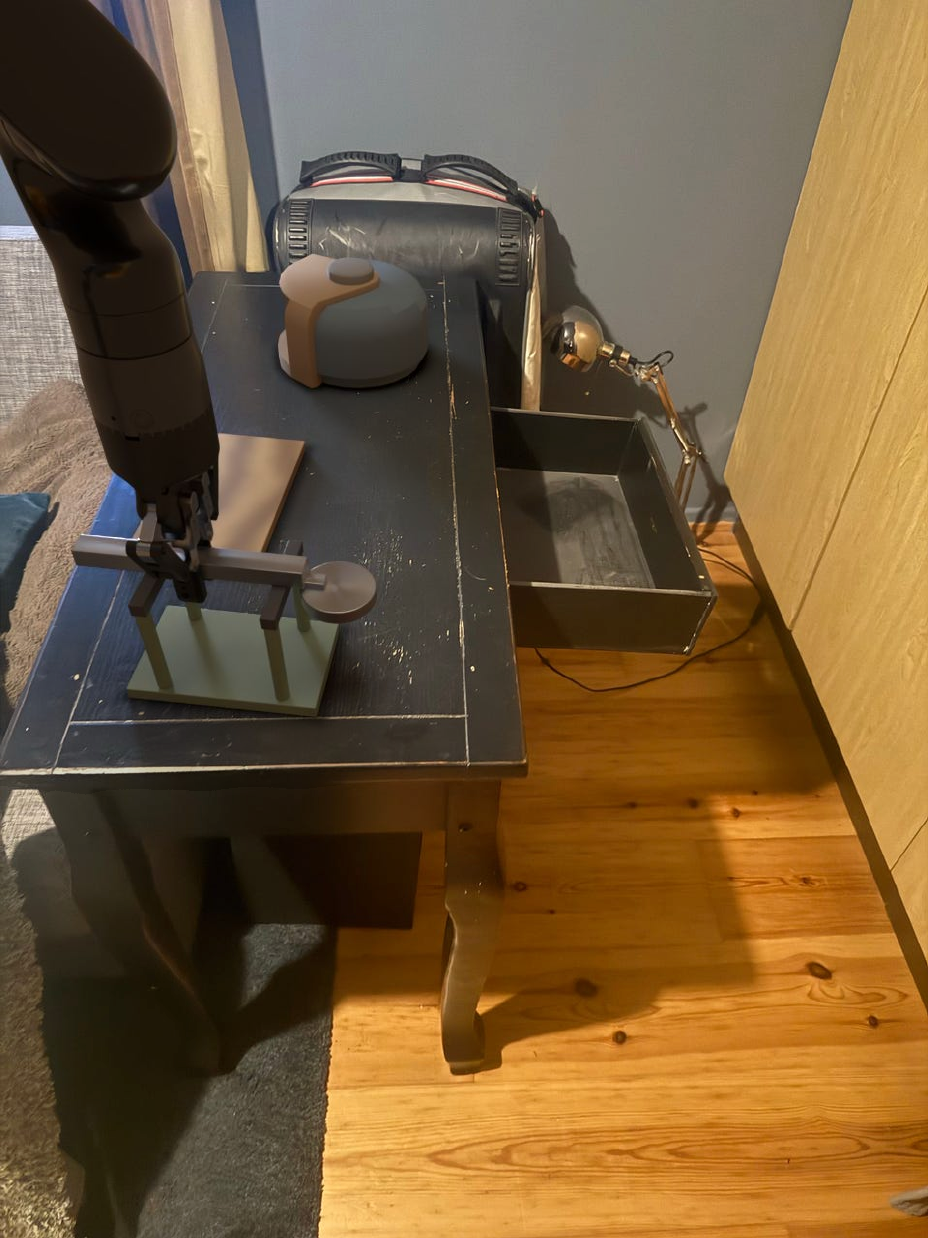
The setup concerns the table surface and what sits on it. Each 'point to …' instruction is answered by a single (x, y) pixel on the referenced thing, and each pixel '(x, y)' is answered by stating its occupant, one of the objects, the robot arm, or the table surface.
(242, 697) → the rack
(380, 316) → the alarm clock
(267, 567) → the ladle
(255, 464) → the board
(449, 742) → the table surface
